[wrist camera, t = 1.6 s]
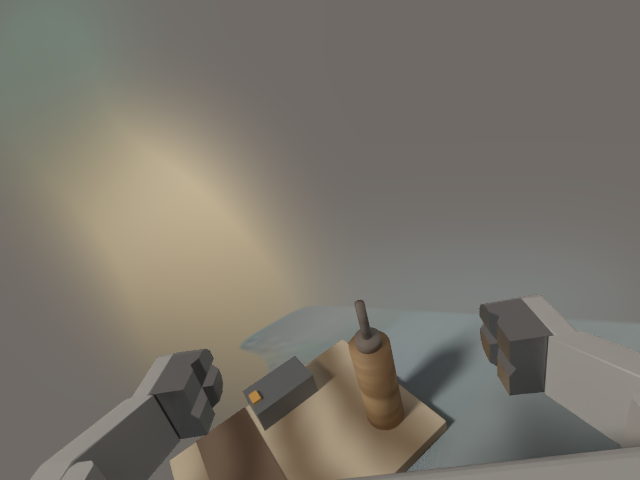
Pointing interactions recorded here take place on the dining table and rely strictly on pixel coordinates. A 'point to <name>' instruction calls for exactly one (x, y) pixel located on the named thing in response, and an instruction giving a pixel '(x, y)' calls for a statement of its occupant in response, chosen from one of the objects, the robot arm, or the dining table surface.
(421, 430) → the subfloor panel
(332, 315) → the dining table surface
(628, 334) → the dining table surface
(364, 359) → the awl
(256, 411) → the block
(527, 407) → the dining table surface
